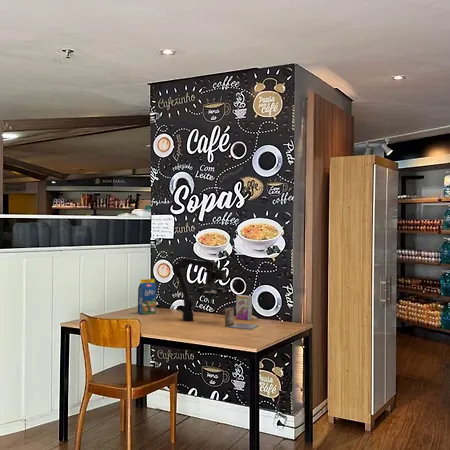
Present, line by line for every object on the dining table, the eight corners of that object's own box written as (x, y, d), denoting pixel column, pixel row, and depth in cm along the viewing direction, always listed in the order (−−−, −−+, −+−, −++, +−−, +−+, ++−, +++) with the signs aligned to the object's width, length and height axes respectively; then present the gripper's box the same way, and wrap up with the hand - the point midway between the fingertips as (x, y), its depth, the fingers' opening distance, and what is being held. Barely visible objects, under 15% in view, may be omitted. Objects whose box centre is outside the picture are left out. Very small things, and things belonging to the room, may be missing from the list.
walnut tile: (224, 326, 364) (225, 309, 364) (230, 324, 374) (230, 307, 374) (228, 327, 363) (228, 309, 364) (233, 324, 373) (234, 307, 373)
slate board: (228, 327, 360) (228, 326, 360) (237, 324, 375) (237, 323, 375) (251, 329, 355) (251, 328, 355) (258, 325, 370) (258, 325, 370)
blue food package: (156, 313, 417) (157, 279, 418) (142, 314, 410) (143, 279, 410) (151, 312, 422) (152, 278, 423) (137, 313, 414) (138, 279, 415)
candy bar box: (235, 318, 400) (235, 295, 400) (240, 318, 404) (240, 294, 404) (247, 320, 392) (247, 296, 393) (252, 319, 396) (252, 296, 396)
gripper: (193, 279, 376) (192, 303, 375) (219, 280, 369) (218, 305, 369) (199, 278, 386) (199, 301, 386) (225, 279, 379) (225, 303, 379)
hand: (210, 303), depth 380 cm, fingers closed
